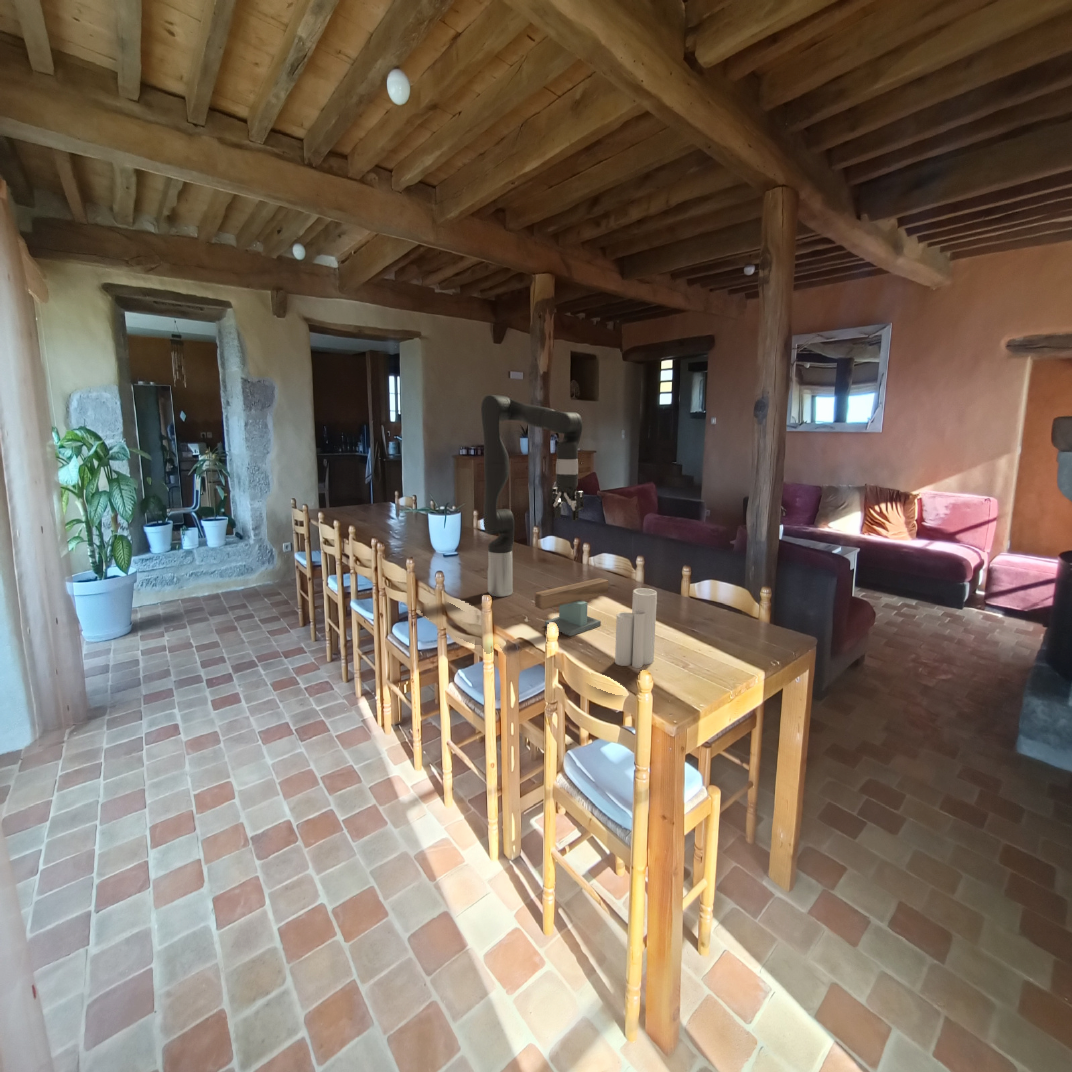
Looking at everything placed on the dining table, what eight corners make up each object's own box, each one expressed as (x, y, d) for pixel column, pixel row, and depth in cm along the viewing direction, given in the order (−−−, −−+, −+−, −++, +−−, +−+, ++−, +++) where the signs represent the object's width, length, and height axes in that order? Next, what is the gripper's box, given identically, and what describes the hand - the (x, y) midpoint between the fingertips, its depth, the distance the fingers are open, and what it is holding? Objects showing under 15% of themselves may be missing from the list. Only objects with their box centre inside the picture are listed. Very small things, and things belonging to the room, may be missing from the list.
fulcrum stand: (544, 625, 178) (545, 599, 176) (574, 616, 187) (575, 591, 185) (570, 636, 169) (570, 609, 168) (600, 625, 178) (601, 599, 177)
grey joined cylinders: (642, 652, 157) (645, 587, 153) (659, 662, 151) (663, 593, 147) (611, 661, 152) (613, 593, 148) (628, 671, 146) (630, 600, 142)
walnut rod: (535, 606, 170) (535, 592, 169) (599, 590, 186) (600, 577, 185) (542, 609, 167) (542, 596, 166) (608, 593, 183) (608, 580, 182)
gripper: (544, 471, 186) (544, 517, 190) (574, 474, 176) (573, 523, 179) (560, 470, 191) (559, 515, 195) (589, 473, 181) (588, 521, 184)
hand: (566, 519), depth 187 cm, fingers open, 8 cm apart
